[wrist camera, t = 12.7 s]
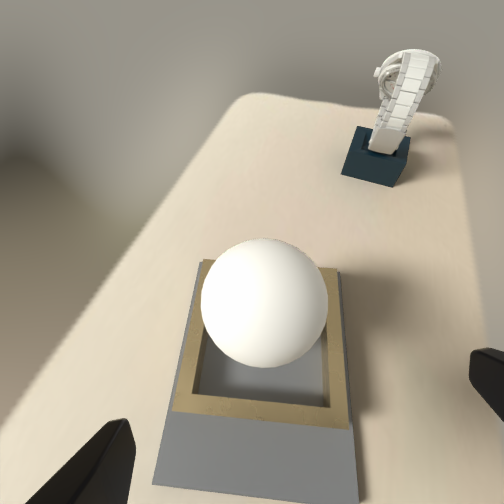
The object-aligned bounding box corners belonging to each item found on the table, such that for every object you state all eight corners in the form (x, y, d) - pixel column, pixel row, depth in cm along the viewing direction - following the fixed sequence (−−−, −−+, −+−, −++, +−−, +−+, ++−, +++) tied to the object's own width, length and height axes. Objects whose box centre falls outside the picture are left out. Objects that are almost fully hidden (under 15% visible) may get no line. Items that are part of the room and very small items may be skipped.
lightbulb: (273, 286, 22) (285, 193, 13) (320, 353, 20) (378, 296, 10) (206, 325, 21) (164, 250, 11) (246, 403, 18) (235, 391, 9)
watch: (399, 150, 32) (459, 39, 22) (390, 199, 28) (457, 89, 19) (351, 139, 33) (389, 29, 24) (336, 184, 29) (374, 75, 20)
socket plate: (355, 505, 16) (372, 522, 14) (156, 481, 17) (139, 492, 14) (337, 276, 24) (346, 260, 21) (201, 266, 24) (195, 249, 22)
